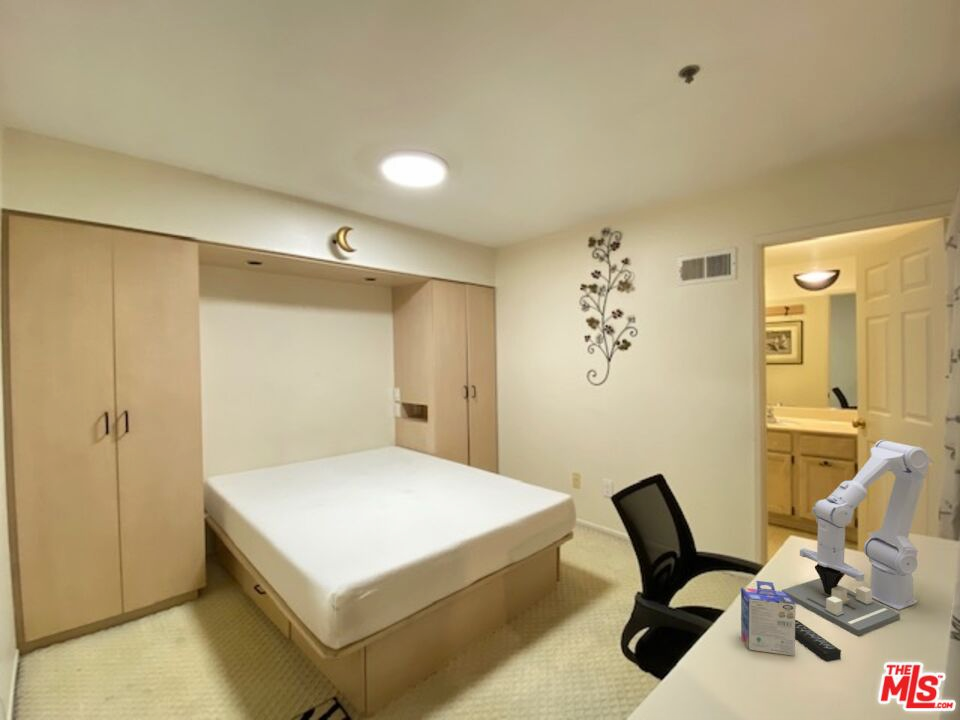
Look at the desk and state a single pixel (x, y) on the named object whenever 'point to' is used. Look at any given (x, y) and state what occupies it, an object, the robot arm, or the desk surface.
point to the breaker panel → (855, 612)
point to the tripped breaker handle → (840, 594)
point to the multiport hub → (816, 643)
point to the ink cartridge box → (768, 620)
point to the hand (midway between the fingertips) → (829, 593)
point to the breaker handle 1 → (834, 605)
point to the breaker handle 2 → (864, 595)
